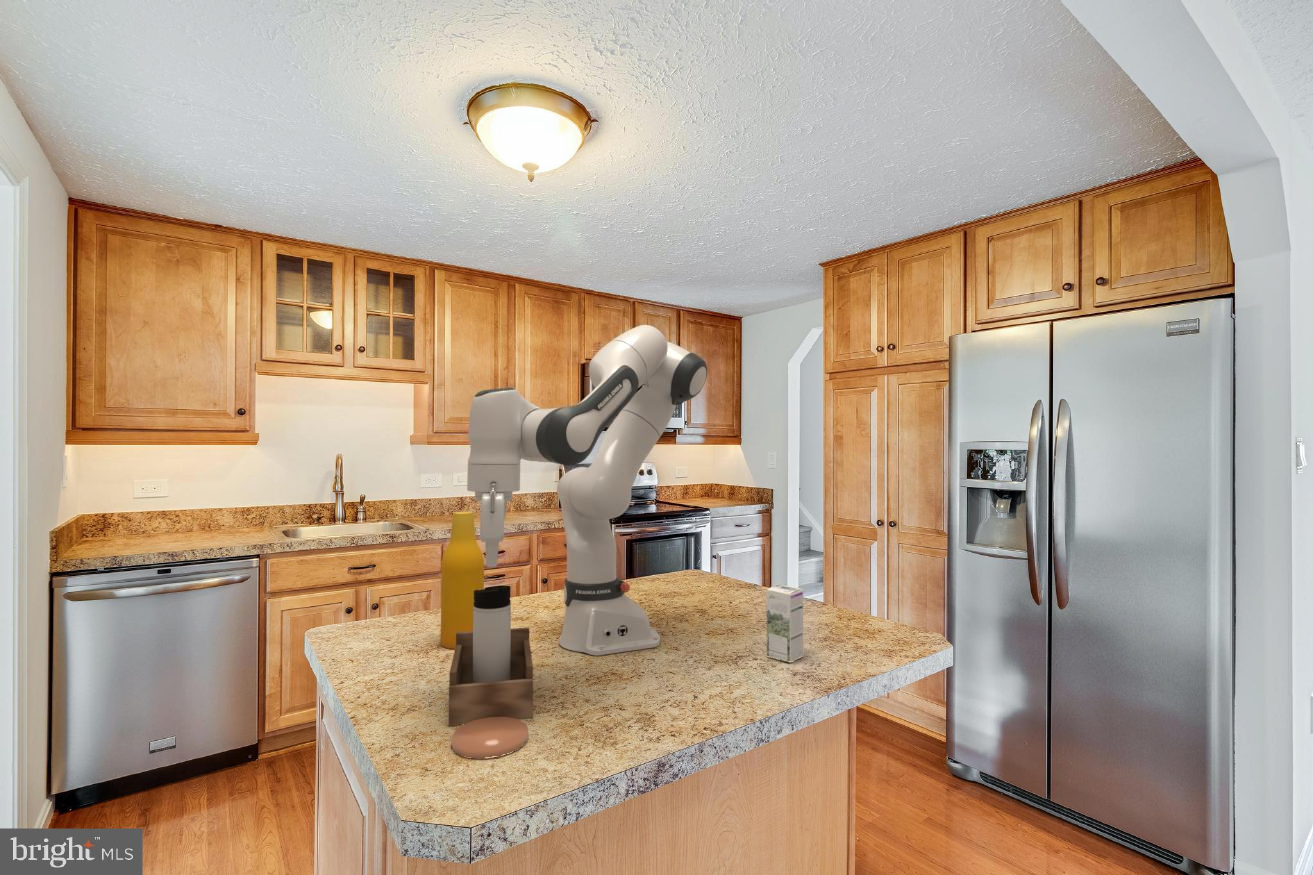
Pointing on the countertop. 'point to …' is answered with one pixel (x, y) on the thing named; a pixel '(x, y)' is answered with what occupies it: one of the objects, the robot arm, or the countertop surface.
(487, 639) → the travel mug
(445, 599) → the beer bottle
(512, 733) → the saucer
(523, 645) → the frame
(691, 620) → the countertop surface
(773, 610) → the syrup box
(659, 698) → the countertop surface
